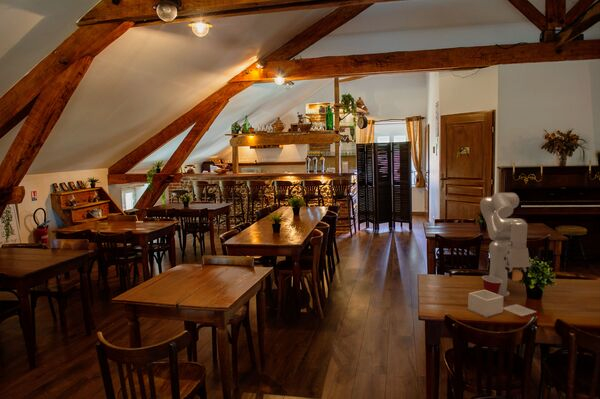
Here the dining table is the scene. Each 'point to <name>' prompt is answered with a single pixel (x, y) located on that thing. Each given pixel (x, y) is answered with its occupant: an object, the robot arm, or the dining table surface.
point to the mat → (519, 310)
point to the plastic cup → (492, 283)
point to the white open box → (485, 303)
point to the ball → (516, 275)
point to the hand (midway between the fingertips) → (516, 278)
